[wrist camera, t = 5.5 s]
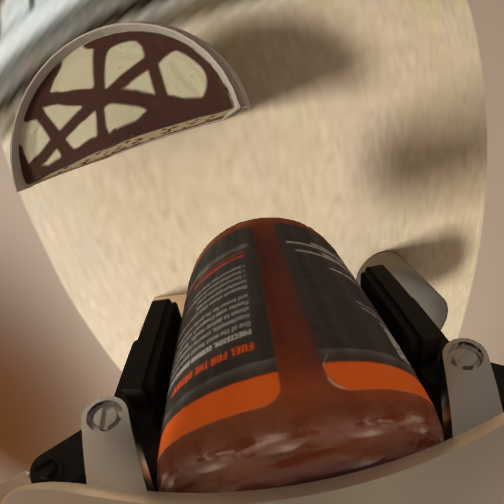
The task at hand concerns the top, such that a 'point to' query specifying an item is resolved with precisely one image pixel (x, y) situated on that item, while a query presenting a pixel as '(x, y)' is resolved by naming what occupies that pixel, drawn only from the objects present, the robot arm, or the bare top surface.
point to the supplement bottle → (284, 370)
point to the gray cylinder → (411, 285)
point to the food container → (118, 97)
